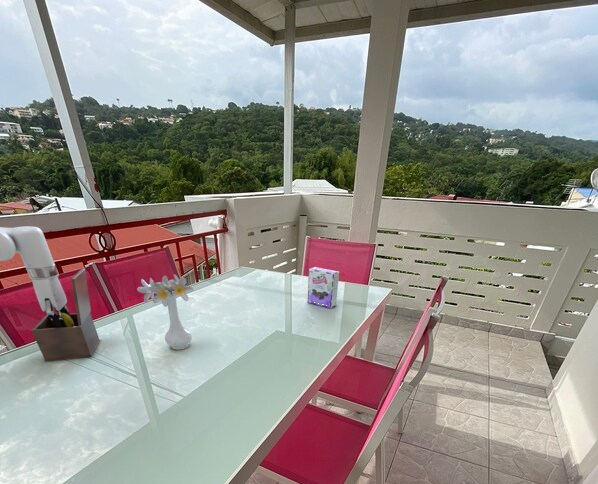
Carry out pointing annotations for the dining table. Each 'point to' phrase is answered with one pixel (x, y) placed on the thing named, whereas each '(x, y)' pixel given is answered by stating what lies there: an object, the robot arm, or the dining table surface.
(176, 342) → the flower vase
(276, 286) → the dining table surface
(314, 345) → the dining table surface
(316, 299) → the candy box
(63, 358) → the box
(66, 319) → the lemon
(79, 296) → the breadbox lid
